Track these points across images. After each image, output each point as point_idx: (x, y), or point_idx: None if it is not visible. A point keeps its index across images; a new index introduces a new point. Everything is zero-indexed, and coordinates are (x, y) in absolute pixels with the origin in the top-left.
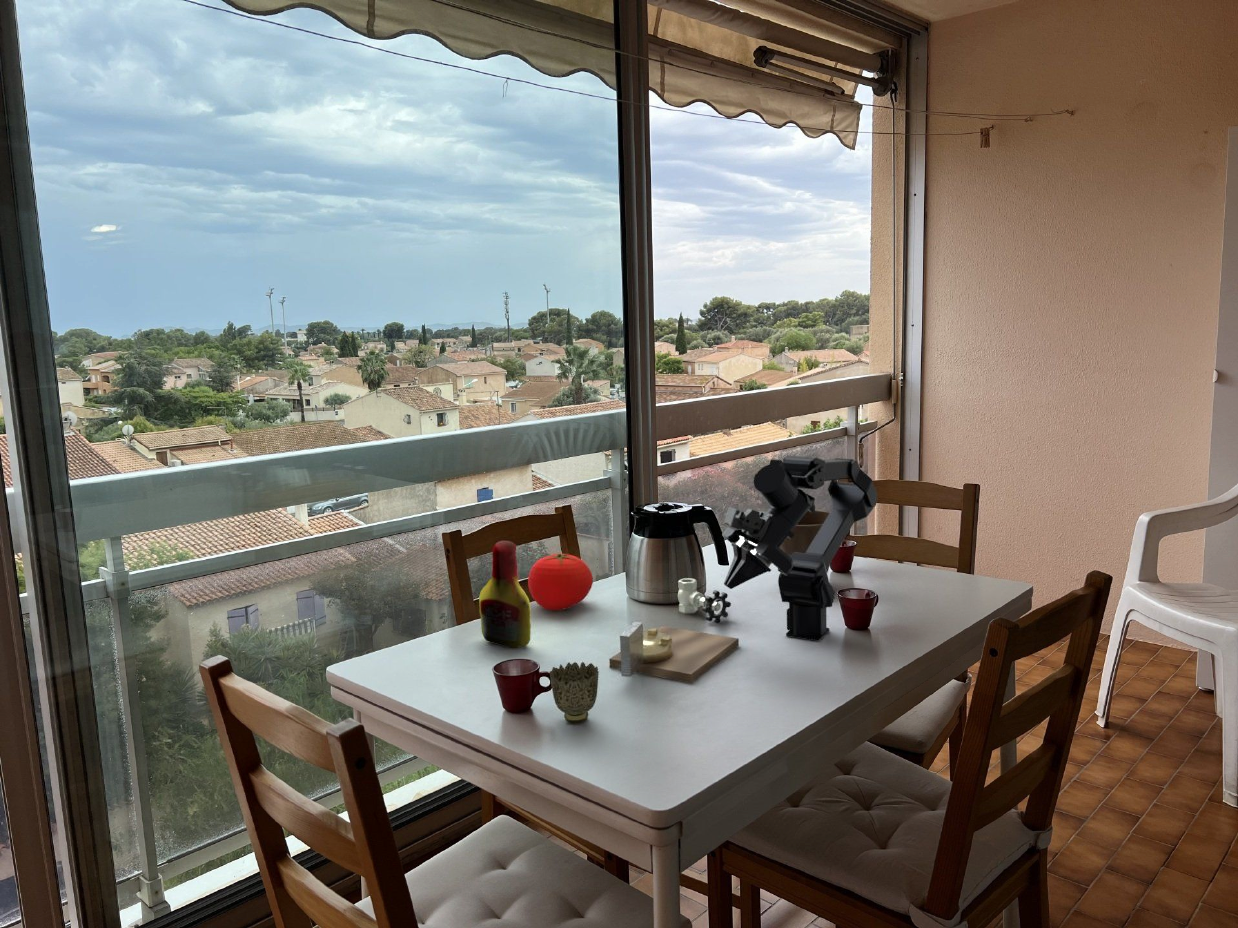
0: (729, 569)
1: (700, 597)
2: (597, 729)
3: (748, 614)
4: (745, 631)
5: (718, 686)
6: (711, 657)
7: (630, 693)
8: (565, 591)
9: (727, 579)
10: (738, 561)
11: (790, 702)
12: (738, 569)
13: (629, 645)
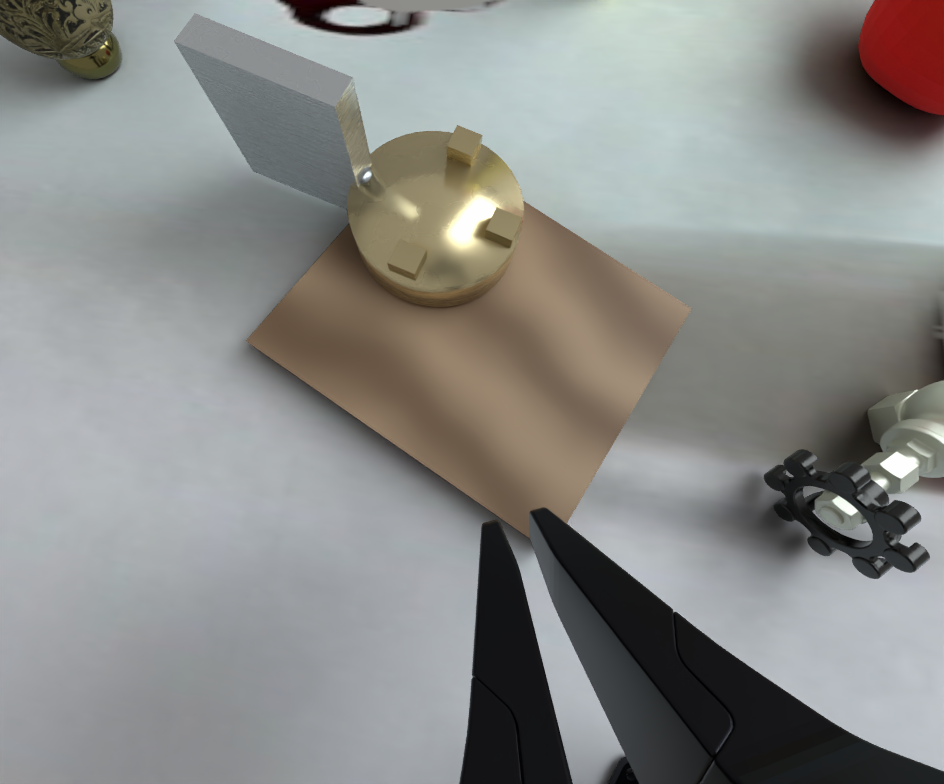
0: (637, 586)
1: (920, 457)
2: (26, 99)
3: (868, 641)
4: (687, 597)
5: (210, 425)
6: (377, 426)
7: (227, 188)
8: (904, 5)
9: (545, 539)
10: (689, 748)
11: (10, 638)
12: (476, 688)
13: (198, 79)
